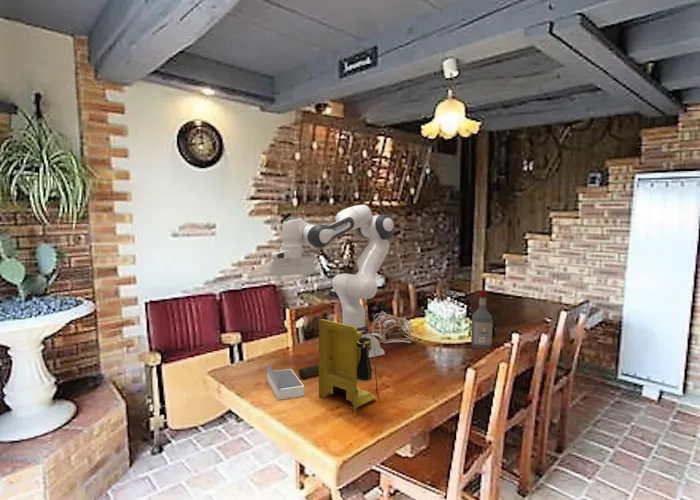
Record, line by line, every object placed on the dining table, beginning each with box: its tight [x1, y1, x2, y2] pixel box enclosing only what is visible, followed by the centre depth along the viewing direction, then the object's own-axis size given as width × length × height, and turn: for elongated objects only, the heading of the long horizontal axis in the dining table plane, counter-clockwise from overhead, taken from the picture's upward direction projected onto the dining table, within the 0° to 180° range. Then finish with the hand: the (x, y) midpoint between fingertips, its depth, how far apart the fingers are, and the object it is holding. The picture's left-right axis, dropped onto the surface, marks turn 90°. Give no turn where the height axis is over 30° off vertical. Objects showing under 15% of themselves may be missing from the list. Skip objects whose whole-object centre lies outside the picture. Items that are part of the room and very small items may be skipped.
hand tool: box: [298, 364, 319, 379], centre depth 189 cm, size 19×4×5 cm, turn 126°
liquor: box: [470, 289, 494, 349], centre depth 228 cm, size 9×9×30 cm
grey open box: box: [266, 364, 305, 401], centre depth 174 cm, size 10×20×7 cm, turn 22°
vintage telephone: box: [318, 318, 382, 412], centre depth 163 cm, size 31×14×30 cm, turn 48°
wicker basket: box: [369, 310, 415, 344], centre depth 244 cm, size 28×35×16 cm
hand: (292, 284), depth 196 cm, fingers open, 8 cm apart
